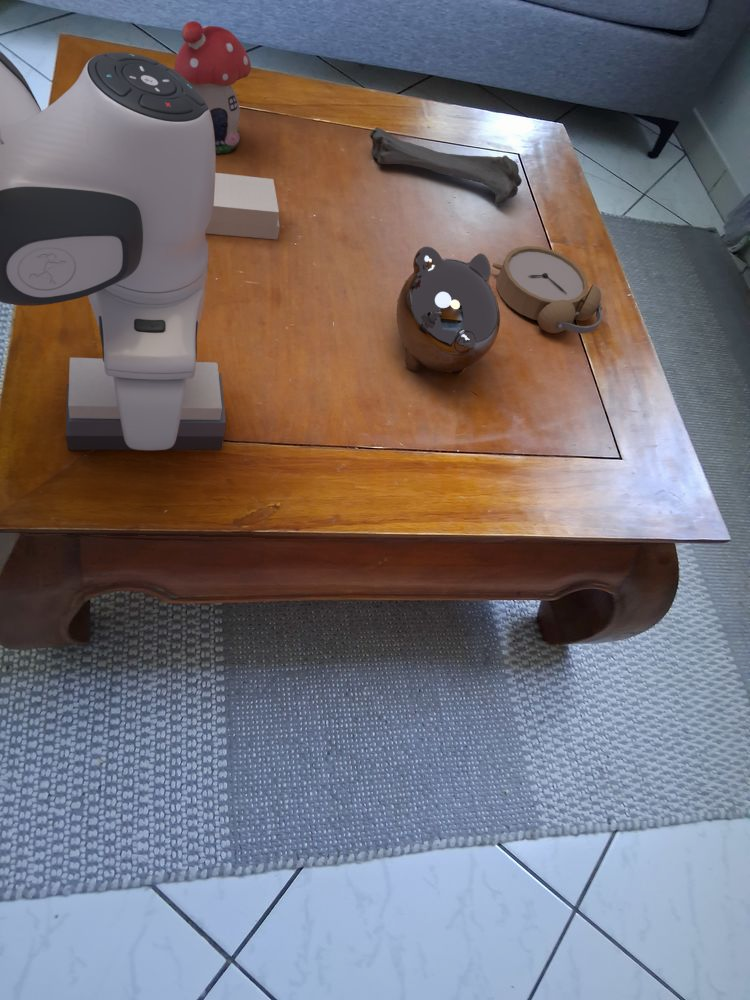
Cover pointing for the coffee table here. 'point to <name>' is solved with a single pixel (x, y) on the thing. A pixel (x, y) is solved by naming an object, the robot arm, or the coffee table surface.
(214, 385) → the pale grey rectangular block
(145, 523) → the coffee table surface
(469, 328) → the piggy bank
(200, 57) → the decorative ornament
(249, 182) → the grey oblong block
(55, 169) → the robot arm
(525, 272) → the alarm clock
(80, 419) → the dark grey box
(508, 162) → the bone
